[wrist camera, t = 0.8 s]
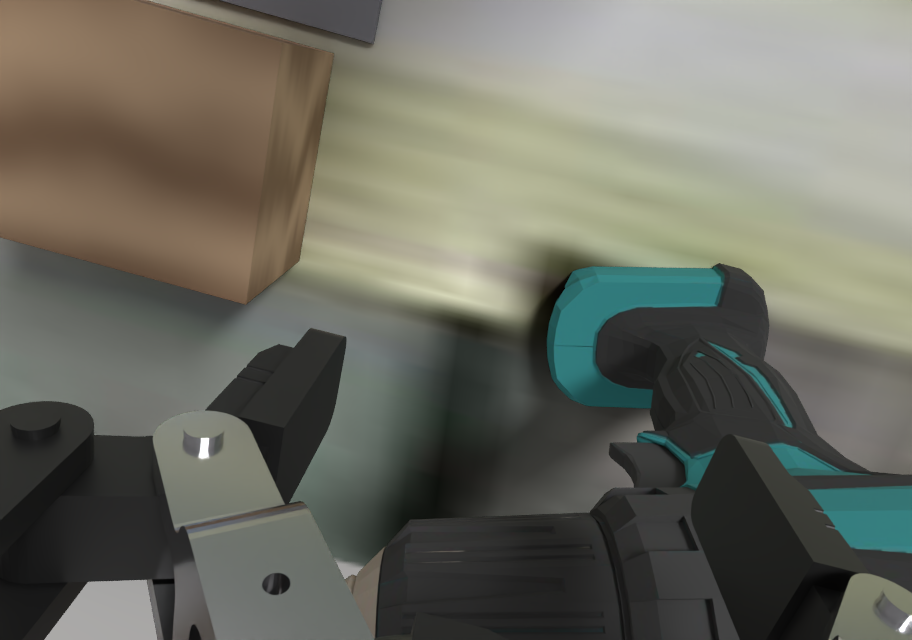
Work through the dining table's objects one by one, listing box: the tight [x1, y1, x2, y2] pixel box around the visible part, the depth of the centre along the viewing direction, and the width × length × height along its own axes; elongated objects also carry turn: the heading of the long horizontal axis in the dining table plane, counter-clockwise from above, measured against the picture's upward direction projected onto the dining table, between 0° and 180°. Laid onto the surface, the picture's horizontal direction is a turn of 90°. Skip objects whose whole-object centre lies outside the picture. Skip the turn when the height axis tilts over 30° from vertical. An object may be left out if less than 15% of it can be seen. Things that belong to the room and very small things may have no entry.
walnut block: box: [0, 0, 334, 305], centre depth 30 cm, size 12×14×8 cm
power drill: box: [345, 263, 912, 640], centre depth 25 cm, size 26×9×25 cm, turn 90°
